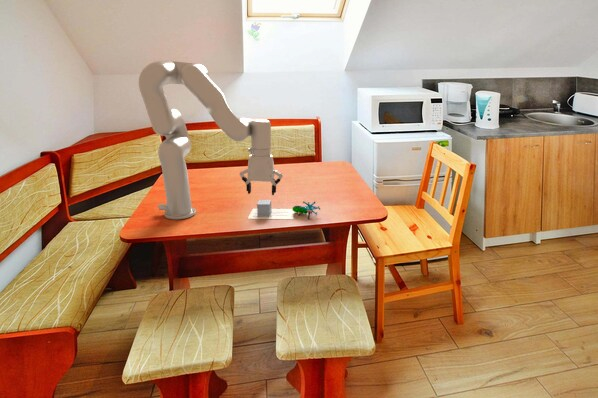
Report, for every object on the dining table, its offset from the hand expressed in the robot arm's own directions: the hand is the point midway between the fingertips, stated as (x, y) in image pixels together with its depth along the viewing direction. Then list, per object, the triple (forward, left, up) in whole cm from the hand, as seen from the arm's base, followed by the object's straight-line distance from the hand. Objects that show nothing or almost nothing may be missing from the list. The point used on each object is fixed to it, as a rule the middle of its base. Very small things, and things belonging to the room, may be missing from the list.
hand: (261, 193), depth 169 cm
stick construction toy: (+18, -1, -9) cm, 20 cm away
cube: (+1, 0, -9) cm, 9 cm away
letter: (+4, 0, -9) cm, 10 cm away
